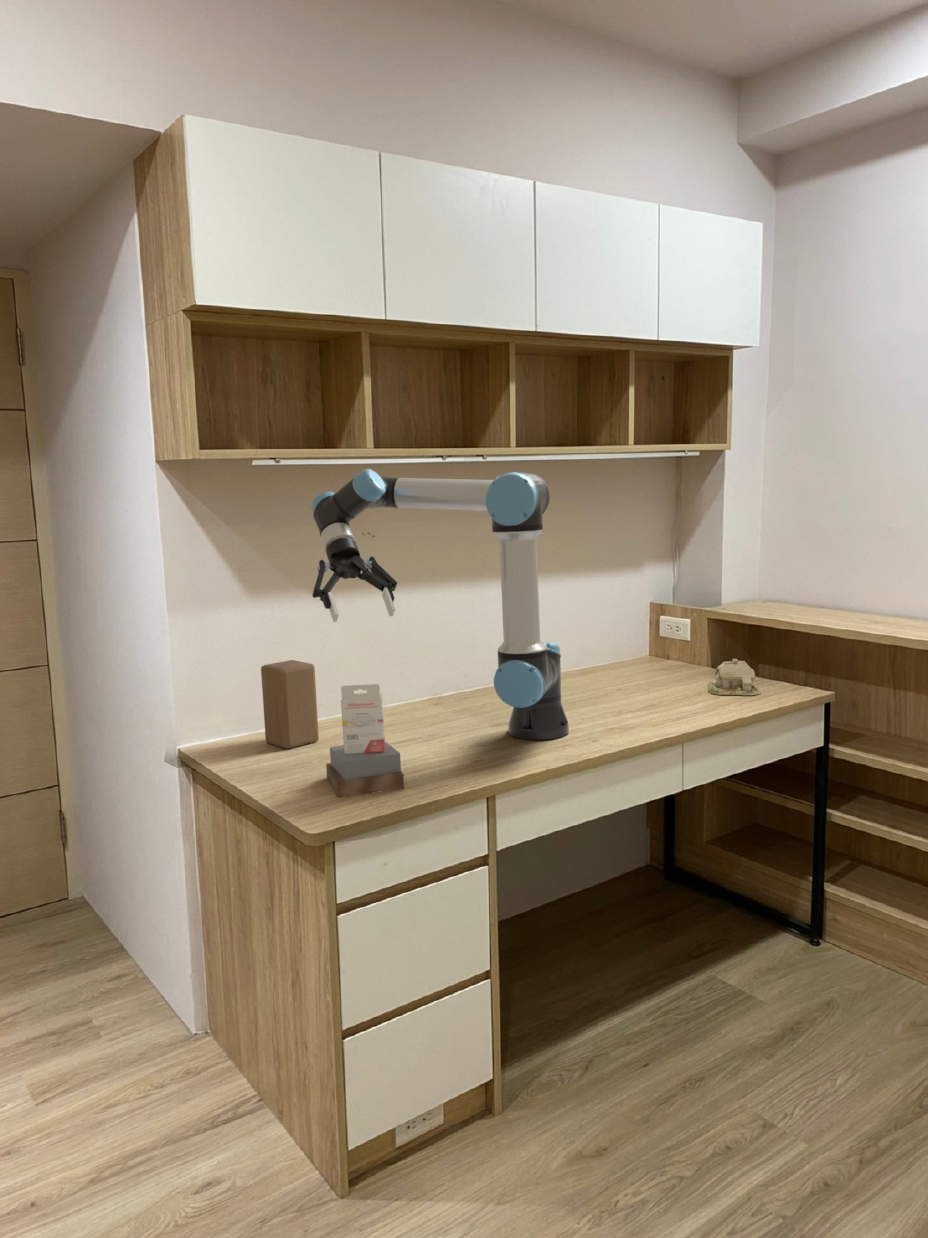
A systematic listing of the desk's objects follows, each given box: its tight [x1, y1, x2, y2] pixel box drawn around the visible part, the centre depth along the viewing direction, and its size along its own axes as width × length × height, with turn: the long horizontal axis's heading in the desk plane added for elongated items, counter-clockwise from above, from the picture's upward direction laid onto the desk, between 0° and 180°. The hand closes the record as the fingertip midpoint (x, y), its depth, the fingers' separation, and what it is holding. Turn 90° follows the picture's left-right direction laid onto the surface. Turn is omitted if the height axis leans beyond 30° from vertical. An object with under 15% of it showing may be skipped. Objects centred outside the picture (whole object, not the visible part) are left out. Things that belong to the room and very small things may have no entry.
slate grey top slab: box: [329, 741, 402, 780], centre depth 199 cm, size 12×12×4 cm
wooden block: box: [260, 659, 320, 750], centre depth 233 cm, size 10×10×20 cm
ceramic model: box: [706, 658, 761, 696], centre depth 271 cm, size 14×11×10 cm
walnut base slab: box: [325, 762, 405, 798], centre depth 200 cm, size 14×14×4 cm
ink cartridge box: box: [340, 683, 386, 754], centre depth 198 cm, size 9×5×15 cm, turn 92°
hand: (364, 615), depth 213 cm, fingers open, 13 cm apart
